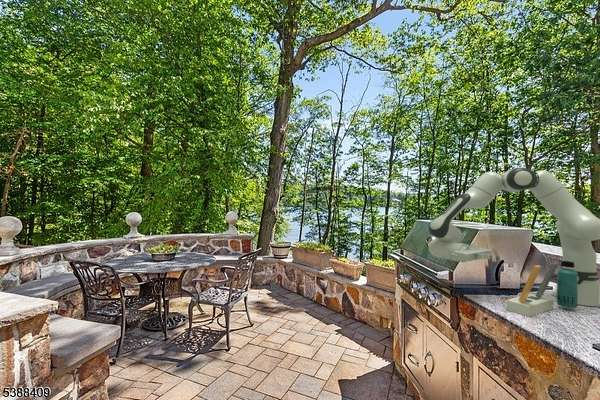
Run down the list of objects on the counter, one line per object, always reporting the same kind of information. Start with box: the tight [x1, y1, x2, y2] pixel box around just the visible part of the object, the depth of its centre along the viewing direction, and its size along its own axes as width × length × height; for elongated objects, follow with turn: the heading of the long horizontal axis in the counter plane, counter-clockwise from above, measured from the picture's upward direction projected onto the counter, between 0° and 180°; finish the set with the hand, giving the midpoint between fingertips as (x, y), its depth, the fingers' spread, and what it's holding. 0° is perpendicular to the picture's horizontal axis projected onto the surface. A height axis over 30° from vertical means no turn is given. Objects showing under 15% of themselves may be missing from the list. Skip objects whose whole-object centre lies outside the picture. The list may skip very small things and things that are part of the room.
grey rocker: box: [535, 262, 559, 297], centre depth 120 cm, size 3×1×16 cm, turn 118°
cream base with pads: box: [505, 292, 554, 318], centre depth 119 cm, size 20×8×4 cm, turn 118°
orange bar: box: [518, 264, 542, 303], centre depth 113 cm, size 3×1×16 cm, turn 118°
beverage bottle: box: [556, 260, 578, 309], centre depth 119 cm, size 6×7×20 cm
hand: (491, 257), depth 126 cm, fingers closed
